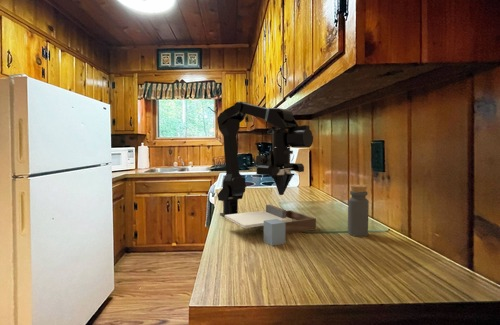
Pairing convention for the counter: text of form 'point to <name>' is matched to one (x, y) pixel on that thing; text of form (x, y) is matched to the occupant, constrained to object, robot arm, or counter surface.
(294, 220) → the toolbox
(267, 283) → the counter surface
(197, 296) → the counter surface
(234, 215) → the lid
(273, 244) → the blue gray block
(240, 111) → the robot arm
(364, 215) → the bottle
